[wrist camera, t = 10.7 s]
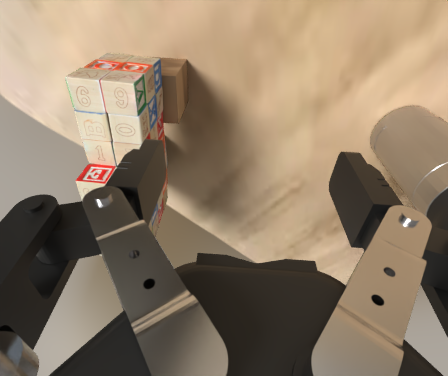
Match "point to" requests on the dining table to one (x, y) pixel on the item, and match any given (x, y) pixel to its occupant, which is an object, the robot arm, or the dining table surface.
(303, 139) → the dining table surface
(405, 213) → the robot arm
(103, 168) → the stack of blocks
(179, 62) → the brown wooden block
